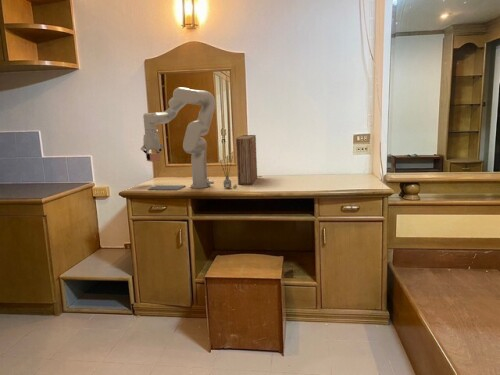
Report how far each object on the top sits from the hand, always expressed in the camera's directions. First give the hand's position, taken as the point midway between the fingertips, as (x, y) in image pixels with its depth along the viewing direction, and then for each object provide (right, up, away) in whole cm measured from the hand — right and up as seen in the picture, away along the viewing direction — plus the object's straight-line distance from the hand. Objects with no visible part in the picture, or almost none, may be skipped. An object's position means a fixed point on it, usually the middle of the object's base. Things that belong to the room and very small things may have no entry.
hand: (153, 159), depth 261 cm
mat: (+12, -20, -13) cm, 26 cm away
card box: (0, -1, 0) cm, 1 cm away
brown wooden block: (+63, -15, +2) cm, 65 cm away
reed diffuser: (+52, -19, -19) cm, 58 cm away
